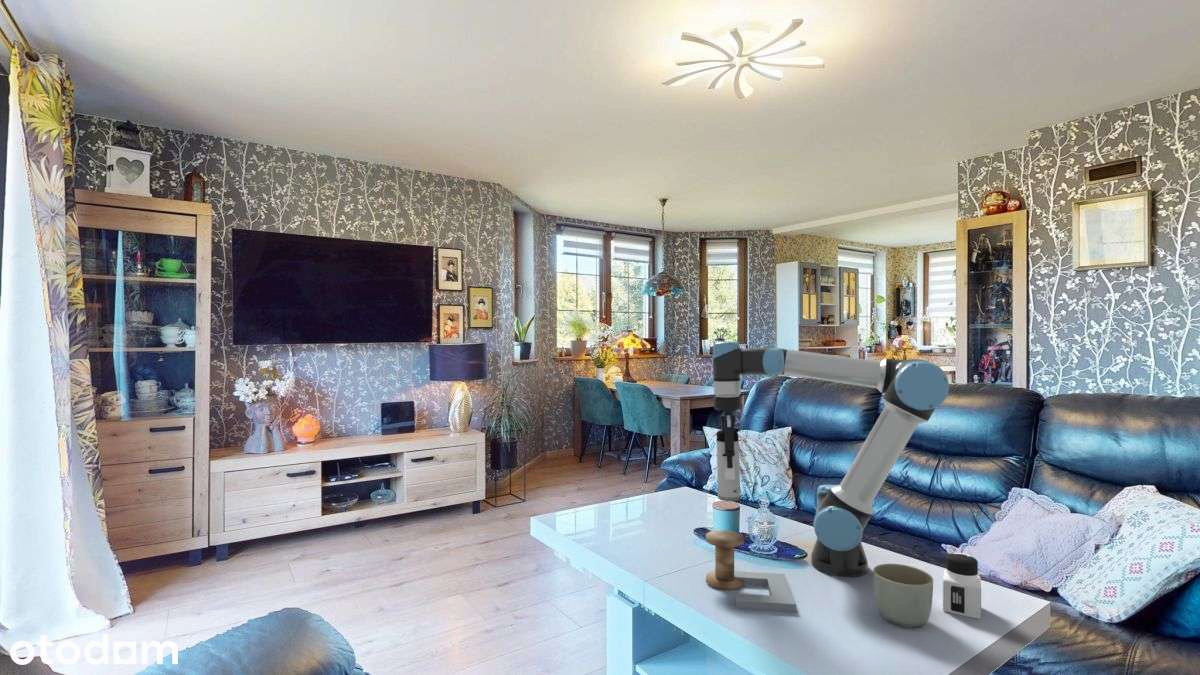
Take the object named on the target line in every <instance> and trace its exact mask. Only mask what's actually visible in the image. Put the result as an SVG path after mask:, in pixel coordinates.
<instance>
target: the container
mask: <svg viewBox="0 0 1200 675" xmlns="http://www.w3.org/2000/svg"><path fill="white" fill-rule="evenodd" d="M945 557H946V558H945V569H944V570H943V577H942V611H943V612H945V613H949V614H955V615H959V616H963V617H968V618H974V619H976V620H977V619H978V620H981V619H982V580H981V575H979V561H978V560H977V559H976V558H975V557H974V556H972V555H969V554H967V553H962V552H952V553H948V554H947V555H946V556H945Z"/></svg>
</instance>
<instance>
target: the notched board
mask: <svg viewBox="0 0 1200 675" xmlns="http://www.w3.org/2000/svg"><path fill="white" fill-rule="evenodd" d="M734 580H744V586H753V587H756V586H757V587H767V590H768V593H769V595H767V594H756V593H755V594H753V593H741V592H740V593H739V592H737V593H736V592H735V593H734V602H735V609H737V610H738V609H740V610H750V611H751V610H753V611H764V612H765V611H766V612H767V611H768V612H779V613H780V612H781V613H794V614H795V613H797V603H796V601H795V598H794V595H793V593H792V590H791V587H790V585H789V583H788V580H787V577H786V574H785V573H777V572H776V573H774V572H759V571H757V572H756V571H742V570H734Z"/></svg>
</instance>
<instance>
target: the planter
mask: <svg viewBox="0 0 1200 675" xmlns="http://www.w3.org/2000/svg"><path fill="white" fill-rule="evenodd" d="M872 573H873V589H874V599H875V604H876V608H877V611H878V612H879V614H880V615H881V616H882V617H883V618H884V619H885V620H887V621H888V622H890V623H892V624H893V625H896V626H899V627H902V628H917V627H920V626H923V625H925V624H926V623H927V622H928V621H929V619H930V617H931V612H932V605H933V594H934V578H933V576H932V575H931V574H930V573H929V572H926V571H925V570H922V569H920V568H917V567H914V566H910V565H906V564H899V563H883V564H877V565H876V566H875V567H874V568H873V572H872Z"/></svg>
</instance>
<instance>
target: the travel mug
mask: <svg viewBox="0 0 1200 675" xmlns="http://www.w3.org/2000/svg"><path fill="white" fill-rule="evenodd" d="M738 432H739V433H740V428H737V427H736V428H735V431H734V452H735V455H734V460H735V480H732V479H725V458H724V456H722V454H725V440H724V432H723V431H722V429H721V430H718V431H717V432H716V468H717V470H716V474H717V475H716V476H717V499H718V500H720V501H723V502H737V501H739V500H741V477H740V476H741V475H740V474H741V473H740V472H741V470H740V468H741V467H740V444H739V442H740V441H739V433H738Z"/></svg>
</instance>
